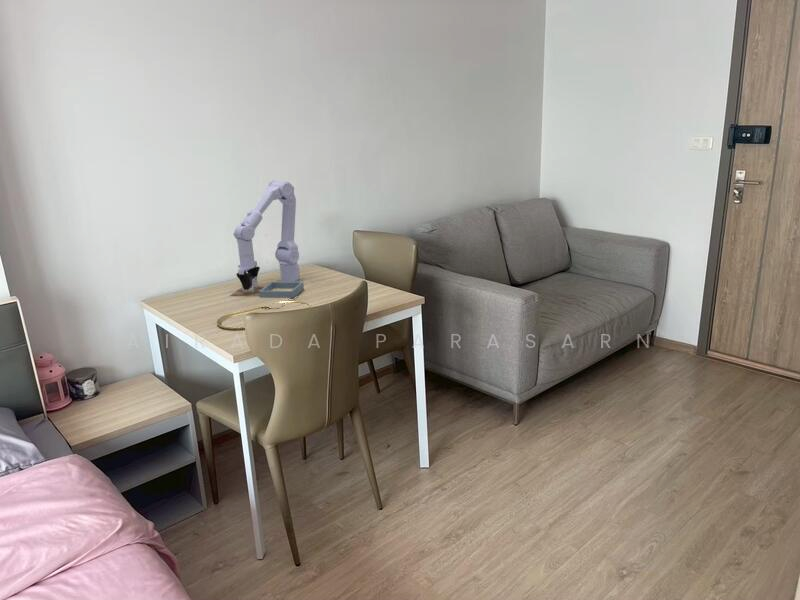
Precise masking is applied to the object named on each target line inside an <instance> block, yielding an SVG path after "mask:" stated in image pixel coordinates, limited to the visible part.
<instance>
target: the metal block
mask: <svg viewBox="0 0 800 600" xmlns="http://www.w3.org/2000/svg"><path fill="white" fill-rule="evenodd" d="M249 283H250V287H249V290H244V289H243V286H242V285H241V288H242V289H243V293H255V292H256V291H258V287H259V283H258V276H250V282H249Z"/></svg>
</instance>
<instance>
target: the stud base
mask: <svg viewBox="0 0 800 600" xmlns="http://www.w3.org/2000/svg"><path fill="white" fill-rule="evenodd" d="M264 287H265V286H262V287H261V286H258V291H256V292H255V293H243V289H242V287H240V288H239V289H237V290H236V291H234V292H233V293H231V294H230V295H229V297H259V291H260V290H261V289H263V288H264Z"/></svg>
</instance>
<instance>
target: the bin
mask: <svg viewBox="0 0 800 600" xmlns="http://www.w3.org/2000/svg"><path fill="white" fill-rule="evenodd" d="M263 287H264V288H263V289H261V290H260V291H259V296H258V297H259V298H262V299H263V298H266V299H267V298H269V299H270V298H276V299H278V298H279V299H280V298H281V299H286V298H287V299H294V298H295V297H296V296H297V297H298V296H300V294H302V293H301V292H302V291H303V290H304V291H305V287H304V281H296V282H281V281H271V282H269V283H268V284H267V285H265V286H263ZM274 289H286V290H274ZM287 289H288V290H287ZM289 289H291V290H289ZM304 291H303V292H304ZM297 297H296V298H297ZM296 298H295V299H296ZM295 299H294V300H295Z"/></svg>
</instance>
